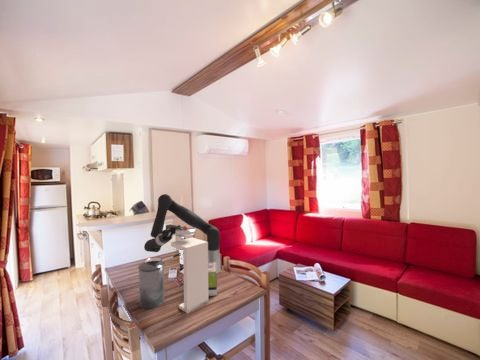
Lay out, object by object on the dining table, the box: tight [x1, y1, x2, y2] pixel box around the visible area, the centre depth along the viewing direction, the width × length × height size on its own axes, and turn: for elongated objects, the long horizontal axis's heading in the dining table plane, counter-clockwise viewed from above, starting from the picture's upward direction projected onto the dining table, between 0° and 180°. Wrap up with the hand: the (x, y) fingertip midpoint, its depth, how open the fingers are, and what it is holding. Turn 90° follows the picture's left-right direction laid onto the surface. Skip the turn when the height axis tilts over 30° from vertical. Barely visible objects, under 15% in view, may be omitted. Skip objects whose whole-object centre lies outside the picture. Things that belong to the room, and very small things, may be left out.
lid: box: [165, 224, 197, 238], centre depth 132 cm, size 24×11×4 cm, turn 49°
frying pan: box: [144, 253, 180, 263], centre depth 188 cm, size 32×13×6 cm, turn 127°
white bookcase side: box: [170, 236, 210, 314], centre depth 126 cm, size 15×14×34 cm
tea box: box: [208, 262, 218, 297], centre depth 141 cm, size 15×10×15 cm, turn 5°
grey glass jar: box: [137, 261, 165, 310], centre depth 127 cm, size 14×14×21 cm
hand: (176, 227), depth 134 cm, fingers closed on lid, 3 cm apart
